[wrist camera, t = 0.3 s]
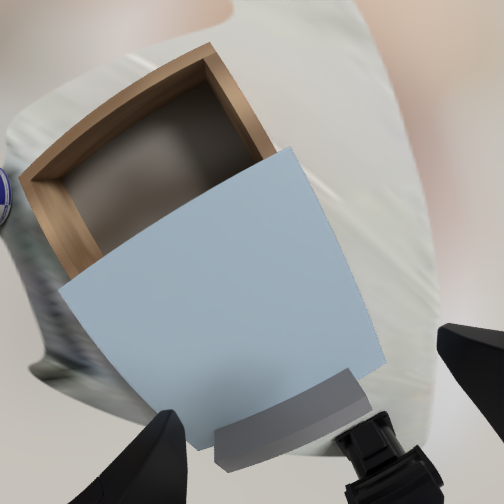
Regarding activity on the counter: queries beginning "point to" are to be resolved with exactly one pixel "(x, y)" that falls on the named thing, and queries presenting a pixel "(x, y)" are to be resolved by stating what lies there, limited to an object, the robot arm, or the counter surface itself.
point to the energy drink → (4, 195)
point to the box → (143, 157)
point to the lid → (237, 317)
